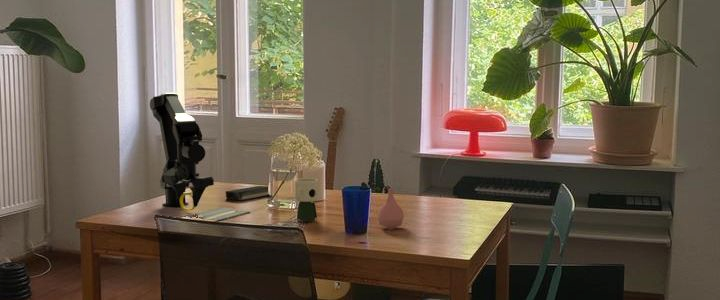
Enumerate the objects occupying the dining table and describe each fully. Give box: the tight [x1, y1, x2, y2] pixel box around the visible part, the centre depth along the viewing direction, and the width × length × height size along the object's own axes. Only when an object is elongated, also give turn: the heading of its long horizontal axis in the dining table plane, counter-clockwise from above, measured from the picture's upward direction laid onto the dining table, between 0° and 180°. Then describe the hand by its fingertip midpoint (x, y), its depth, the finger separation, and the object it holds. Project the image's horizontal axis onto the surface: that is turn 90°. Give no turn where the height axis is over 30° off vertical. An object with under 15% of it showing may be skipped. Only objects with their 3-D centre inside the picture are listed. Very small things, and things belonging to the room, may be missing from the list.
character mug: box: [294, 177, 319, 222], centre depth 235 cm, size 11×7×13 cm, turn 156°
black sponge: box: [224, 185, 269, 201], centre depth 274 cm, size 16×8×4 cm, turn 137°
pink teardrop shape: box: [377, 187, 405, 230], centre depth 225 cm, size 8×8×12 cm
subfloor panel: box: [182, 206, 251, 221], centre depth 243 cm, size 13×22×1 cm, turn 145°
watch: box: [180, 191, 196, 211], centre depth 249 cm, size 6×3×6 cm, turn 65°
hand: (188, 205), depth 249 cm, fingers closed on watch, 6 cm apart
